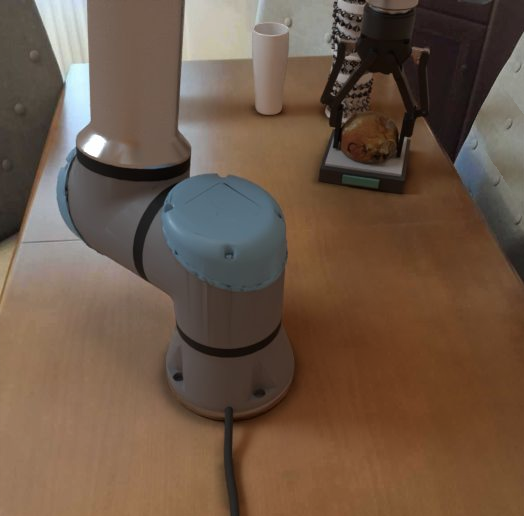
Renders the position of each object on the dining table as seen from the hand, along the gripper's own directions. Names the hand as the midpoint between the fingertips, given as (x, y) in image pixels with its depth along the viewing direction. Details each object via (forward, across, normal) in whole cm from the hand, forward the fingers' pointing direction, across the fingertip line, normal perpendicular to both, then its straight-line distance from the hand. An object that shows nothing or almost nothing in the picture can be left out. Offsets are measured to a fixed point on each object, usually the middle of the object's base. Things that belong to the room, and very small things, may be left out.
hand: (367, 148), depth 102 cm
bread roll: (0, 0, 0) cm, 0 cm away
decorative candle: (+4, +6, -19) cm, 20 cm away
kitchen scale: (+3, 0, 0) cm, 3 cm away
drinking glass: (+4, +21, -16) cm, 27 cm away
